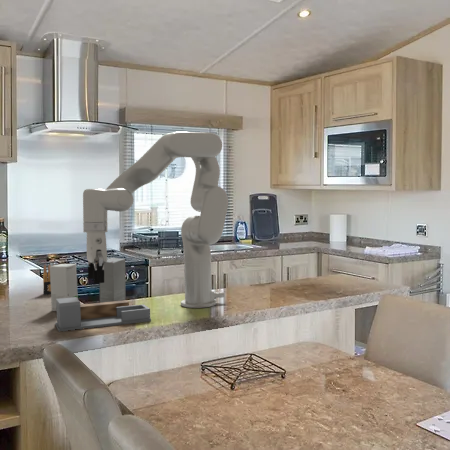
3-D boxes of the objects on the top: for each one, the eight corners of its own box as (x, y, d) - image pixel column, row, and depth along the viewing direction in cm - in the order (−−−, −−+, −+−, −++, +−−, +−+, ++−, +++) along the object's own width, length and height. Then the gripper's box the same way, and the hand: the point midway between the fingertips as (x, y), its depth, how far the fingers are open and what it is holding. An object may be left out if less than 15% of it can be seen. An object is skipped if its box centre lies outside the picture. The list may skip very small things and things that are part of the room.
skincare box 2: (111, 298, 212) (110, 257, 211) (127, 300, 209) (126, 258, 208) (98, 303, 204) (97, 260, 203) (115, 304, 202) (113, 261, 200)
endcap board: (143, 315, 184) (142, 290, 184) (151, 321, 176) (150, 295, 176) (55, 325, 173) (54, 298, 172) (59, 331, 165) (57, 304, 164)
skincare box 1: (67, 311, 191) (66, 266, 190) (50, 311, 193) (48, 266, 191) (78, 306, 199) (77, 263, 198) (61, 306, 201) (60, 263, 200)
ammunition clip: (43, 294, 223) (42, 264, 222) (43, 294, 224) (42, 264, 223) (71, 292, 226) (70, 263, 226) (70, 291, 228) (69, 262, 227)
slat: (126, 315, 186) (126, 300, 186) (129, 317, 183) (128, 302, 183) (68, 321, 179) (67, 305, 178) (69, 323, 176) (69, 308, 175)
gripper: (113, 228, 172) (113, 284, 173) (101, 225, 188) (102, 276, 189) (88, 229, 169) (89, 285, 170) (79, 226, 185) (79, 277, 186)
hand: (96, 280), depth 180 cm, fingers open, 9 cm apart
